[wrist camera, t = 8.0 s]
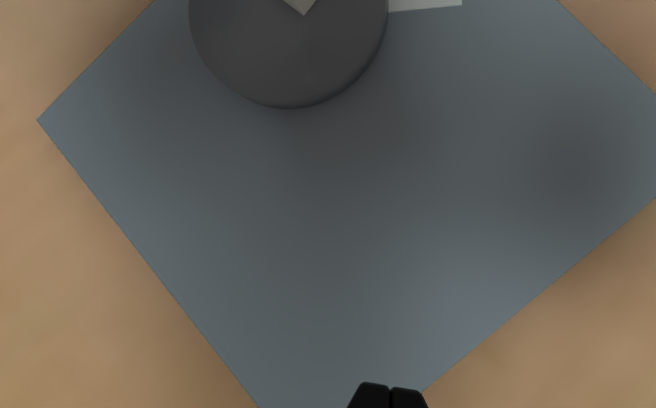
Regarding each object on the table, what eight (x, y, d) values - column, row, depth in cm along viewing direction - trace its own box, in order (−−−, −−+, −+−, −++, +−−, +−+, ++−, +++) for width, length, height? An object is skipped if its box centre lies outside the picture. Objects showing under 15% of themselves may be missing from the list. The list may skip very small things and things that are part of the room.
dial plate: (700, 153, 19) (715, 148, 18) (321, 469, 21) (314, 481, 20) (353, -179, 22) (348, -201, 21) (53, 124, 24) (34, 119, 23)
